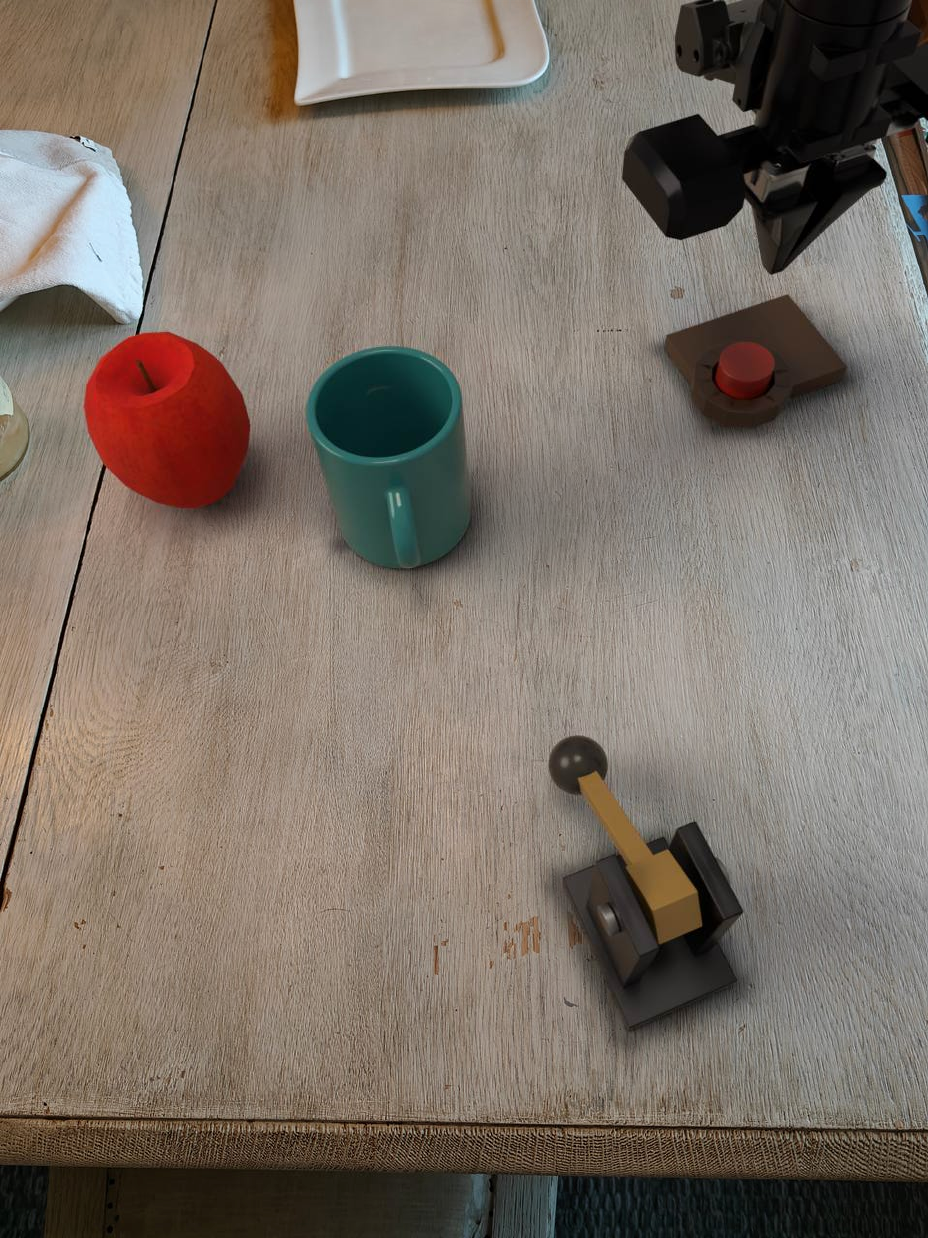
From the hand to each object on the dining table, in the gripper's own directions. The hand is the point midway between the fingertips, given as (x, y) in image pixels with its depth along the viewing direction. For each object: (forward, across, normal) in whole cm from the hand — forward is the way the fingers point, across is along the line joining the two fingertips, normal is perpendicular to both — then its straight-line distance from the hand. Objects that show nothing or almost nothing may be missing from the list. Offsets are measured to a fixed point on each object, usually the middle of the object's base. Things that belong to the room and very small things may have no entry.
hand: (771, 268), depth 57 cm
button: (+9, 0, 0) cm, 9 cm away
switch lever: (+8, +22, +26) cm, 35 cm away
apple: (+12, +37, -9) cm, 40 cm away
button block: (+12, -2, -2) cm, 12 cm away
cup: (+12, +25, +1) cm, 28 cm away
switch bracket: (+12, +22, +30) cm, 39 cm away
